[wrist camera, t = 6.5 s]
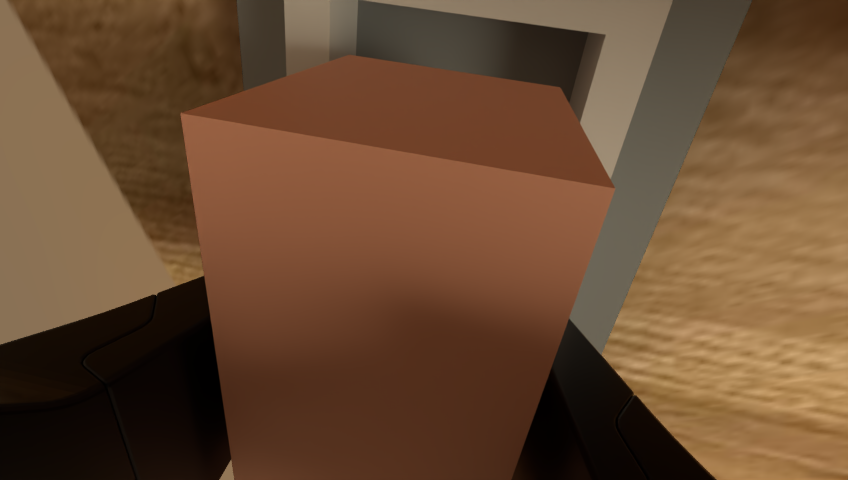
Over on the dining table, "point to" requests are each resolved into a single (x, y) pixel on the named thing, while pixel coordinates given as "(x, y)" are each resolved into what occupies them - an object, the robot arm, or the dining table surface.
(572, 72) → the pocket board
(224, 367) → the block
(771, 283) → the dining table surface
